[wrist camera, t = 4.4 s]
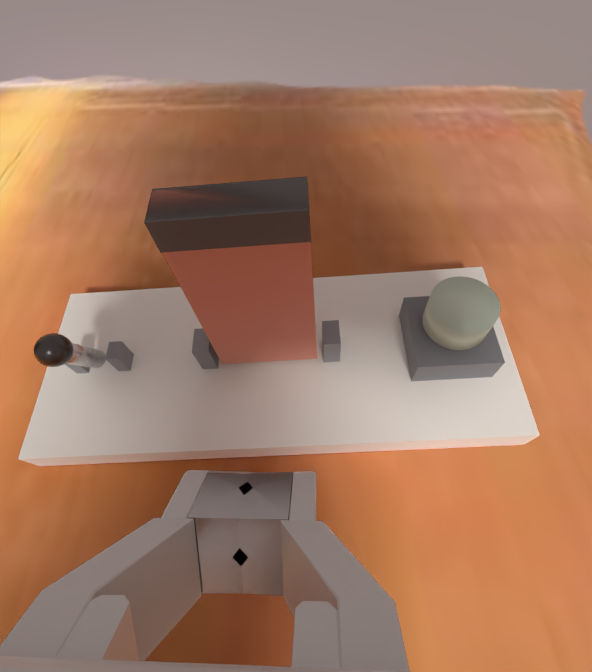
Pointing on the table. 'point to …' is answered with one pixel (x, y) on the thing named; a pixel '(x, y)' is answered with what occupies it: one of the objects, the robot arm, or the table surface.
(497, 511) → the table surface
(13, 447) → the table surface
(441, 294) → the push button
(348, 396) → the control panel
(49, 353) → the toggle lever
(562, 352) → the table surface
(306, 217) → the paddle
